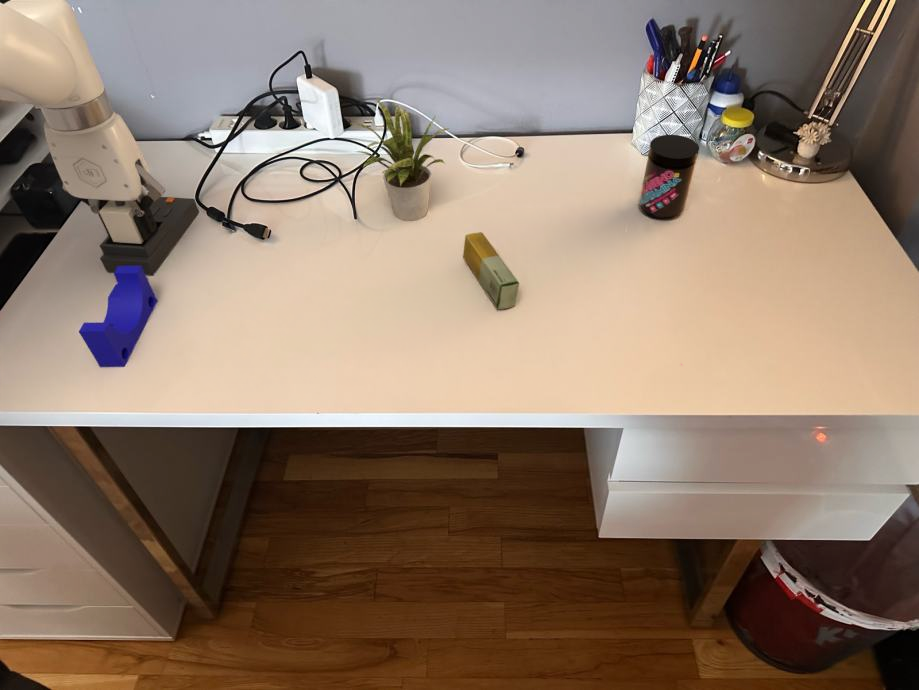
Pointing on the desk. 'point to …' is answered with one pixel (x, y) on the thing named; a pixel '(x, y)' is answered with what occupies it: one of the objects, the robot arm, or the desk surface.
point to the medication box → (490, 271)
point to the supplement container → (668, 176)
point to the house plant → (404, 167)
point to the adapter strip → (152, 237)
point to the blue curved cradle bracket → (121, 318)
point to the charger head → (120, 222)
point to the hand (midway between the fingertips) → (133, 232)
